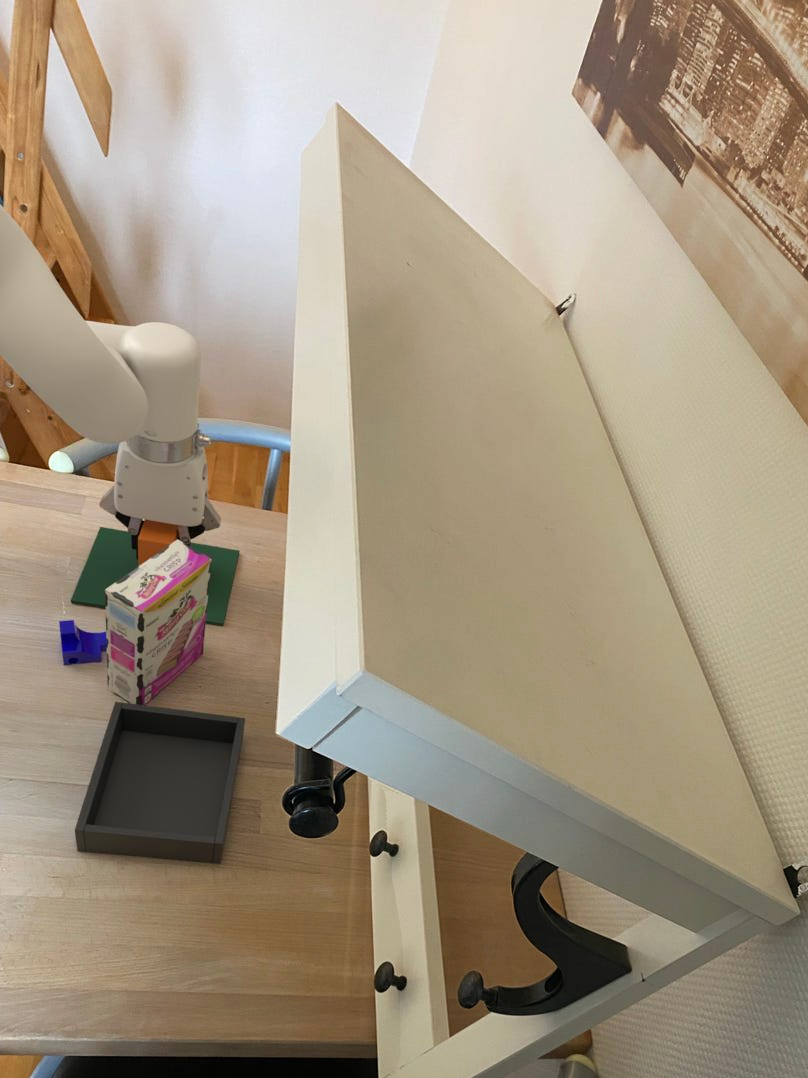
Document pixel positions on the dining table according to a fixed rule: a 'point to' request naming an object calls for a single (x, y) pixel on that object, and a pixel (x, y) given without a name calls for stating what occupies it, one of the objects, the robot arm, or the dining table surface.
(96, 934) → the dining table surface
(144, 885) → the dining table surface
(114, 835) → the bin
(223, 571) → the mat
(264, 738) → the dining table surface
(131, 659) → the candy bar box
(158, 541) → the orange block
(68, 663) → the cable holder
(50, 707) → the dining table surface
